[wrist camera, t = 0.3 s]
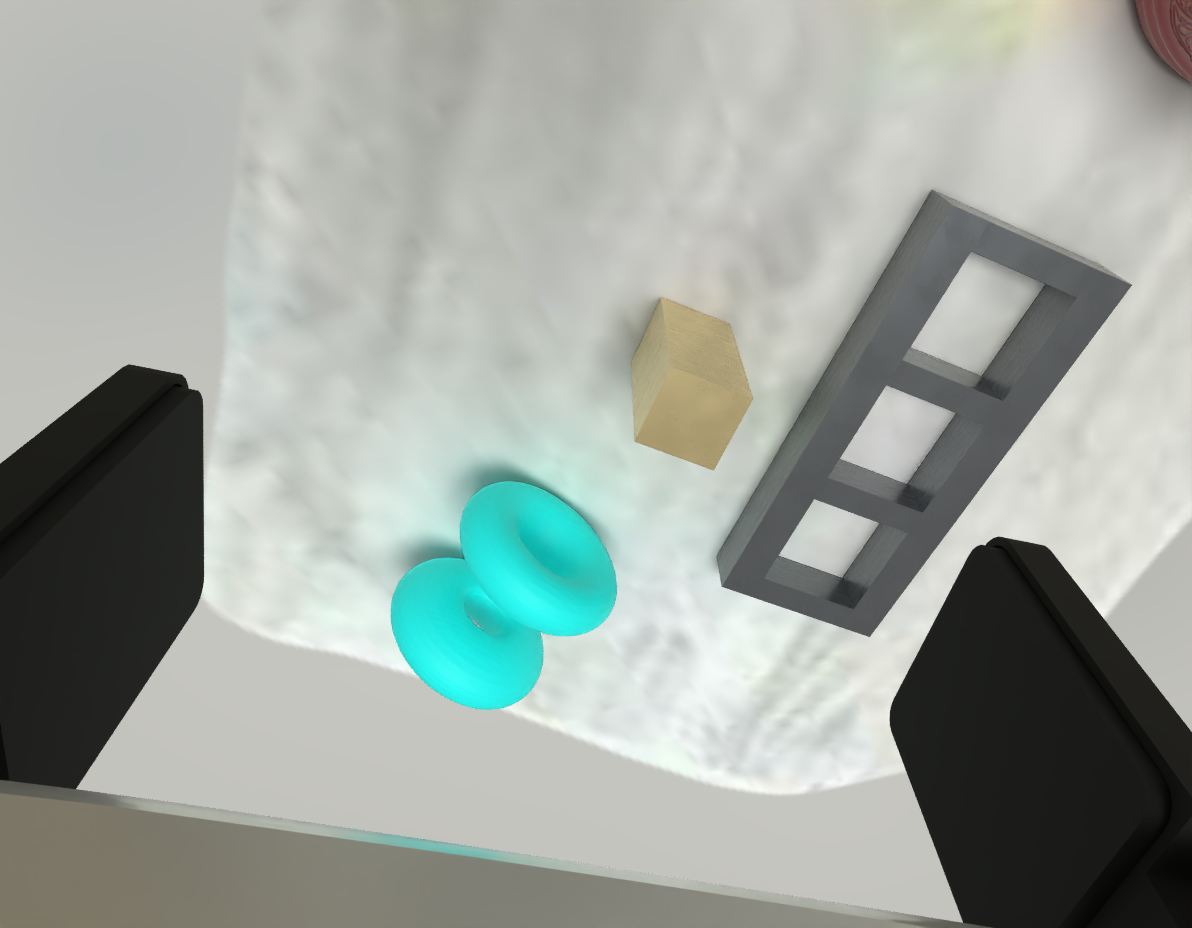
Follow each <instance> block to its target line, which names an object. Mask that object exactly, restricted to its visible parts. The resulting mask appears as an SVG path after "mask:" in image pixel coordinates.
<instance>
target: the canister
mask: <svg viewBox="0 0 1192 928" xmlns="http://www.w3.org/2000/svg"><path fill="white" fill-rule="evenodd" d="M1135 5H1136V10H1137V15H1138V18H1139V21H1140V24H1141V27H1142V29H1143V32H1144V34H1145V36H1146V38H1147V40H1148V41H1149V43H1150V45H1151V46H1152V48H1153V49H1154V51H1155V52H1156V53H1157V54H1158V56H1159V57H1160V58H1161V59H1162V60H1163V61H1164V62H1165V63H1166V64H1167V65H1168V66H1169V67H1171V68H1172V69H1173V70H1175V71H1176V72H1177V73H1178V74H1179V75H1181V76H1182V77H1183V78H1185V79H1186V80H1187V81H1189V82H1191V83H1192V0H1135Z"/></svg>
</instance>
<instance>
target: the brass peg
mask: <svg viewBox="0 0 1192 928" xmlns="http://www.w3.org/2000/svg"><path fill="white" fill-rule="evenodd" d="M631 363H632V389H633V416H634V441H635V442H637V443H640V444H643V445H645V446H648V447H651V448H654V449H656V450H659V451H662V452H665V453H667V454H670V455H673V456H676V457H678V458H681V459H684V460H687V461H689V462H692V463H695V464H698V465H700V466H703V467H706V468H709V469H711V470H714V469H715V467H716V465H717V464H718V462H719V460H720V458H721V456H722V454H723V453H724V451H725V449H726V447H727V445H728V444H729V442H730V440H731V438H732V436H733V434H734V433H735V431H736V429H737V427H738V425H739V424H740V422H741V420H742V418H743V416H744V414H745V413H746V411H747V409H748V407H749V405H750V404H751V402H752V400H753V396H752V393H751V390H750V387H749V383H748V380H747V377H746V374H745V371H744V367H743V364H742V361H741V358H740V354H739V351H738V348H737V345H736V342H735V338H734V335H733V332H732V329H731V326H730V324H728V323H726V322H723V321H721V320H718V319H716V318H713V317H710V316H708V315H705V314H703V313H700V312H698V311H695V310H693V309H690V308H688V307H685V306H683V305H680V304H678V303H675V302H673V301H670V300H668V299H665V298H663V297H661V299H660V301H659V303H658V305H657V308H656V310H655V312H654V314H653V316H652V318H651V321H650V323H649V325H648V327H647V329H646V332H645V334H644V336H643V338H642V340H641V342H640V345H639V347H638V349H637V351H636V353H635V356H634V358H633V360H632V362H631Z"/></svg>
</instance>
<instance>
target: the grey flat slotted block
mask: <svg viewBox="0 0 1192 928" xmlns="http://www.w3.org/2000/svg"><path fill="white" fill-rule="evenodd" d="M971 251H972V252H974V253H976V254H979V255H981V256H983V257H985V258H988V259H990V260H992V261H995V262H997V263H999V264H1001V265H1004V266H1006V267H1008V268H1011V269H1013V270H1015V271H1017V272H1020V273H1022V274H1024V275H1027V276H1029V277H1031V278H1034V279H1036V280H1038V281H1040V282H1043V283H1045V284H1046V285H1045V286H1044V288H1043V289H1042V291H1041V292H1040V294H1039V295H1038V296H1037V298H1036V299H1035V301H1034V302H1033V304H1032V305H1031V307H1030V308H1029V309H1028V311H1027V312H1026V314H1025V315H1024V317H1023V318H1022V320H1021V321H1020V322H1019V324H1018V325H1017V327H1016V328H1015V330H1014V331H1013V333H1012V334H1011V335H1010V337H1009V338H1008V340H1007V341H1006V343H1005V344H1004V346H1003V347H1002V348H1001V350H1000V351H999V353H998V354H997V356H996V357H995V359H994V360H993V361H992V363H991V364H990V366H989V367H988V369H987V370H986V372H985V373H984V374H983V376H982V377H981V376H979V375H977V374H974V373H972V372H969V371H967V370H964V369H962V368H959V367H957V366H955V365H952V364H950V363H947V362H945V361H942V360H940V359H937V358H935V357H933V356H930V355H928V354H925V353H923V352H920V351H918V350H916V349H913V348H911V345H912V344H913V342H914V340H915V339H916V337H917V336H918V334H919V333H920V331H921V329H922V328H923V326H924V325H925V323H926V322H927V320H928V318H929V317H930V315H931V314H932V312H933V310H934V309H935V307H936V306H937V304H938V303H939V301H940V299H941V298H942V296H943V295H944V293H945V292H946V290H947V288H948V287H949V285H950V284H951V282H952V280H953V279H954V277H955V276H956V274H957V273H958V271H959V269H960V268H961V266H962V265H963V263H964V262H965V260H966V258H967V257H968V255H969V254H970V252H971ZM1131 286H1132V285H1131V284H1130V283H1128V282H1127V281H1125V280H1123V279H1122V278H1120V277H1119V276H1117V275H1116V274H1114V273H1112V272H1111V271H1109V270H1108V269H1106V268H1105V267H1103V266H1101V265H1099V264H1097V263H1095V262H1092V261H1090V260H1088V259H1086V258H1083V257H1081V256H1079V255H1077V254H1074V253H1072V252H1070V251H1068V250H1065V249H1063V248H1061V247H1059V246H1057V245H1054V244H1052V243H1050V242H1048V241H1045V240H1043V239H1041V238H1039V237H1036V236H1034V235H1032V234H1030V233H1027V232H1025V231H1023V230H1021V229H1019V228H1016V227H1014V226H1012V225H1010V224H1007V223H1005V222H1003V221H1001V220H998V219H996V218H994V217H992V216H989V215H987V214H985V213H983V212H981V211H978V210H976V209H974V208H972V207H969V206H967V205H965V204H963V203H960V202H958V201H956V200H954V199H952V198H949V197H947V196H945V195H943V194H940V193H938V192H936V191H934V190H932V191H931V193H930V194H929V196H928V198H927V200H926V201H925V203H924V205H923V206H922V208H921V210H920V211H919V213H918V215H917V217H916V218H915V220H914V222H913V223H912V225H911V227H910V228H909V230H908V232H907V234H906V235H905V237H904V239H903V240H902V242H901V244H900V245H899V247H898V249H897V251H896V252H895V254H894V256H893V257H892V259H891V261H890V262H889V264H888V266H887V268H886V269H885V271H884V273H883V274H882V276H881V278H880V280H879V281H878V283H877V285H876V286H875V288H874V290H873V291H872V293H871V295H870V297H869V298H868V300H867V302H866V303H865V305H864V307H863V308H862V310H861V312H860V314H859V315H858V317H857V319H856V320H855V322H854V324H853V325H852V327H851V329H850V331H849V332H848V334H847V336H846V337H845V339H844V341H843V342H842V344H841V346H840V348H839V349H838V351H837V353H836V354H835V356H834V358H833V359H832V361H831V363H830V365H829V366H828V368H827V370H826V371H825V373H824V375H823V376H822V378H821V380H820V382H819V383H818V385H817V387H816V388H815V390H814V392H813V393H812V395H811V397H810V399H809V400H808V402H807V404H806V405H805V407H804V409H803V410H802V412H801V414H800V416H799V417H798V419H797V421H796V422H795V424H794V426H793V427H792V429H791V431H790V433H789V434H788V436H787V438H786V439H785V441H784V443H783V444H782V446H781V448H780V450H779V451H778V453H777V455H776V456H775V458H774V460H773V461H772V463H771V465H770V467H769V468H768V470H767V472H766V473H765V475H764V477H763V478H762V480H761V482H760V484H759V485H758V487H757V489H756V490H755V492H754V494H753V495H752V497H751V499H750V501H749V502H748V504H747V506H746V507H745V509H744V511H743V512H742V514H741V516H740V518H739V519H738V521H737V523H736V524H735V526H734V528H733V529H732V531H731V533H730V535H729V536H728V538H727V540H726V541H725V543H724V545H723V547H722V548H721V550H720V552H719V553H718V555H717V561H718V567H719V573H720V579H721V585H722V587H724V588H727V589H730V590H733V591H736V592H739V593H742V594H745V595H748V596H751V597H754V598H757V599H760V600H763V601H765V602H768V603H771V604H774V605H777V606H780V607H783V608H786V609H789V610H792V611H795V612H798V613H801V614H804V615H807V616H810V617H812V618H815V619H818V620H821V621H824V622H827V623H830V624H833V625H836V626H839V627H842V628H845V629H848V630H851V631H854V632H857V633H859V634H862V635H865V636H868V637H870V636H871V634H872V633H873V632H874V630H875V629H876V628H877V626H878V625H879V624H880V622H881V621H882V620H883V618H884V617H885V616H886V614H887V613H888V612H889V610H890V609H891V608H892V606H893V605H894V604H895V602H896V601H897V600H898V598H899V597H900V596H901V594H902V593H903V592H904V590H905V589H906V588H907V586H908V585H909V584H910V582H911V581H912V579H913V578H914V577H915V575H916V574H917V573H918V571H919V570H920V569H921V567H922V566H923V565H924V563H925V562H926V561H927V559H928V558H929V557H930V555H931V554H932V553H933V551H934V550H935V549H936V547H937V546H938V545H939V543H940V542H941V541H942V539H943V538H944V537H945V535H946V534H947V533H948V531H949V530H950V529H951V527H952V526H953V524H954V523H955V522H956V520H957V519H958V518H959V516H960V515H961V514H962V512H963V511H964V510H965V508H966V507H967V506H968V504H969V503H970V502H971V500H972V499H973V498H974V496H975V495H976V494H977V492H978V491H979V490H980V488H981V487H982V486H983V484H984V483H985V482H986V480H987V479H988V478H989V476H990V475H991V474H992V472H993V471H994V469H995V468H996V467H997V465H998V464H999V463H1000V461H1001V460H1002V459H1003V457H1004V456H1005V455H1006V453H1007V452H1008V451H1009V449H1010V448H1011V447H1012V445H1013V444H1014V443H1015V441H1016V440H1017V439H1018V437H1019V436H1020V435H1021V433H1022V432H1023V431H1024V429H1025V428H1026V427H1027V425H1028V424H1029V423H1030V421H1031V420H1032V419H1033V417H1034V416H1035V414H1036V413H1037V412H1038V410H1039V409H1040V408H1041V406H1042V405H1043V404H1044V402H1045V401H1046V400H1047V398H1048V397H1049V396H1050V394H1051V393H1052V392H1053V390H1054V389H1055V388H1056V386H1057V385H1058V384H1059V382H1060V381H1061V380H1062V378H1063V377H1064V376H1065V374H1066V373H1067V372H1068V370H1069V369H1070V368H1071V366H1072V365H1073V364H1074V362H1075V361H1076V359H1077V358H1078V357H1079V355H1080V354H1081V353H1082V351H1083V350H1084V349H1085V347H1086V346H1087V345H1088V343H1089V342H1090V341H1091V339H1092V338H1093V337H1094V335H1095V334H1096V333H1097V331H1098V330H1099V329H1100V327H1101V326H1102V325H1103V323H1104V322H1105V321H1106V319H1107V318H1108V317H1109V315H1110V314H1111V313H1112V311H1113V310H1114V309H1115V307H1116V306H1117V305H1118V303H1119V302H1120V300H1121V299H1122V298H1123V296H1124V295H1125V294H1126V292H1127V291H1128V290H1129V288H1130V287H1131ZM886 385H887V386H890V387H892V388H895V389H897V390H900V391H902V392H905V393H907V394H910V395H912V396H915V397H917V398H920V399H923V400H925V401H928V402H930V403H933V404H935V405H938V406H940V407H943V408H945V409H948V410H950V411H953V412H955V413H956V415H955V416H954V418H953V419H952V421H951V422H950V424H949V425H948V426H947V428H946V429H945V431H944V432H943V434H942V435H941V437H940V438H939V439H938V441H937V442H936V444H935V445H934V447H933V448H932V450H931V451H930V452H929V454H928V455H927V457H926V458H925V460H924V461H923V463H922V464H921V465H920V467H919V468H918V470H917V471H916V473H915V474H914V476H913V477H912V478H911V480H910V481H909V483H908V484H904V483H902V482H899V481H896V480H894V479H891V478H888V477H886V476H883V475H880V474H878V473H875V472H872V471H870V470H867V469H864V468H862V467H859V466H857V465H854V464H851V463H849V462H846V461H843V460H841V459H840V457H841V456H842V454H843V453H844V451H845V449H846V448H847V446H848V445H849V443H850V442H851V440H852V438H853V437H854V435H855V434H856V432H857V431H858V429H859V427H860V426H861V424H862V423H863V421H864V419H865V418H866V416H867V415H868V413H869V412H870V410H871V408H872V407H873V405H874V404H875V402H876V400H877V399H878V397H879V396H880V394H881V393H882V391H883V389H884V388H885V386H886ZM814 499H816V500H818V501H821V502H824V503H827V504H829V505H832V506H835V507H838V508H840V509H843V510H846V511H848V512H851V513H854V514H857V515H859V516H862V517H865V518H868V519H870V520H873V521H876V522H878V523H880V525H879V526H878V528H877V529H876V530H875V532H874V533H873V535H872V536H871V538H870V539H869V541H868V542H867V543H866V545H865V546H864V548H863V549H862V551H861V552H860V554H859V555H858V556H857V558H856V559H855V561H854V562H853V564H852V565H851V567H850V568H849V569H848V571H847V572H846V574H845V575H844V577H843V578H840V577H837V576H834V575H831V574H828V573H826V572H823V571H820V570H817V569H814V568H811V567H808V566H806V565H803V564H800V563H797V562H794V561H791V560H789V559H786V558H783V557H780V556H778V555H779V554H780V552H781V551H782V549H783V547H784V546H785V544H786V543H787V541H788V539H789V538H790V536H791V535H792V533H793V532H794V530H795V528H796V527H797V525H798V524H799V522H800V521H801V519H802V517H803V516H804V514H805V513H806V511H807V509H808V508H809V506H810V505H811V503H812V502H813V500H814Z"/></svg>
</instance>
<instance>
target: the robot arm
mask: <svg viewBox="0 0 1192 928" xmlns="http://www.w3.org/2000/svg"><path fill="white" fill-rule="evenodd" d="M203 583H204V482H203V399H202V396H201V394H200V392H199V391H197V390H192V389H189V388H188V384H187V381H186V379H185V378H184V377H183V375H181V374H176V373H170V372H165V371H160V370H155V369H150V368H145V367H140V366H135V365H127V366H125V367H123V368H121V369H120V370H119V371H117V372H116V373H115V374H114V375H112V376H111V377H110V378H109V379H107V380H106V381H105V382H103V383H102V384H101V385H100V386H99V387H97V388H96V389H95V390H93V391H92V392H91V393H89V394H88V395H87V396H86V397H84V398H83V399H82V400H81V401H79V402H78V403H77V404H76V405H74V406H73V407H72V408H71V409H69V410H68V411H67V412H65V413H64V414H63V415H62V416H60V417H59V418H58V419H57V420H55V421H54V422H53V423H52V424H50V425H49V426H48V427H46V428H45V429H44V430H43V431H41V432H40V433H39V434H37V435H36V436H35V437H34V438H32V439H31V440H30V441H29V442H27V443H26V444H25V445H23V447H21V448H20V449H18V450H17V451H16V452H15V453H13V454H12V455H11V456H10V457H8V458H7V459H6V460H4V461H3V462H2V463H1V464H0V928H1192V732H1191V731H1190V729H1189V728H1188V727H1187V725H1186V724H1185V723H1184V722H1183V720H1182V719H1181V718H1180V716H1179V715H1178V714H1177V713H1176V711H1175V710H1174V709H1173V707H1172V706H1171V705H1170V704H1169V702H1168V701H1167V700H1166V699H1165V697H1164V696H1163V695H1162V693H1161V692H1160V691H1159V689H1158V688H1157V687H1156V686H1155V684H1154V683H1153V682H1152V680H1151V679H1150V678H1149V676H1148V675H1147V674H1146V673H1145V671H1144V670H1143V669H1142V667H1141V666H1140V665H1139V664H1138V662H1137V661H1136V660H1135V658H1134V657H1133V656H1132V655H1131V653H1130V652H1129V651H1128V650H1127V648H1126V647H1125V646H1124V644H1123V643H1122V642H1121V640H1120V639H1119V638H1118V637H1117V635H1116V634H1115V633H1114V631H1113V630H1112V629H1111V628H1110V626H1109V625H1108V624H1107V622H1106V621H1105V620H1104V619H1103V617H1102V616H1101V615H1100V613H1099V612H1098V611H1097V609H1096V608H1095V607H1094V606H1093V604H1092V603H1091V602H1090V600H1089V599H1088V598H1087V597H1086V595H1085V594H1084V593H1083V591H1082V590H1081V589H1080V588H1079V586H1078V585H1077V584H1076V582H1075V581H1074V580H1073V579H1072V577H1071V576H1070V575H1069V573H1068V572H1067V571H1066V570H1065V568H1064V567H1063V566H1062V564H1061V563H1060V562H1059V561H1058V559H1057V558H1056V557H1055V555H1054V554H1053V553H1052V552H1051V550H1049V549H1048V548H1047V547H1046V546H1043V545H1039V544H1034V543H1029V542H1024V541H1019V540H1014V539H1009V538H1004V537H996V538H993V539H991V540H990V541H989V542H988V543H987V544H986V545H979V546H977V547H975V548H974V549H973V550H972V552H971V553H970V555H969V556H968V558H967V560H966V562H965V564H964V566H963V568H962V570H961V572H960V573H959V575H958V577H957V579H956V581H955V583H954V585H953V587H952V589H951V591H950V593H949V594H948V596H947V598H946V600H945V602H944V604H943V606H942V608H941V610H940V612H939V614H938V616H937V617H936V619H935V621H934V623H933V625H932V627H931V629H930V631H929V633H928V635H927V637H926V638H925V640H924V642H923V644H922V646H921V648H920V650H919V652H918V654H917V656H916V658H915V660H914V661H913V663H912V665H911V667H910V669H909V671H908V673H907V675H906V677H905V679H904V681H903V682H902V684H901V686H900V688H899V690H898V692H897V694H896V696H895V698H894V700H893V702H892V705H891V710H890V727H891V731H892V734H893V737H894V740H895V742H896V745H897V748H898V750H899V753H900V756H901V758H902V761H903V764H904V766H905V769H906V772H907V774H908V777H909V779H910V782H911V785H912V788H913V790H914V793H915V796H916V798H917V801H918V804H919V806H920V809H921V812H922V814H923V816H924V820H925V822H926V825H927V828H928V830H929V833H930V835H931V838H932V840H933V843H934V846H935V849H936V851H937V854H938V857H939V859H940V862H941V865H942V867H943V870H944V872H945V875H946V878H947V881H948V883H949V886H950V888H951V891H952V894H953V897H954V899H955V902H956V904H957V907H958V910H959V913H960V915H961V918H962V921H963V923H960V922H954V921H947V920H941V919H935V918H929V917H923V916H916V915H909V914H904V913H898V912H891V911H885V910H879V909H873V908H865V907H860V906H853V905H848V904H841V903H835V902H828V901H823V900H816V899H810V898H803V897H797V896H791V895H784V894H778V893H771V892H765V891H759V890H752V889H746V888H739V887H733V886H726V885H720V884H713V883H707V882H700V881H694V880H688V879H681V878H675V877H668V876H662V875H655V874H649V873H642V872H635V871H629V870H623V869H616V868H610V867H603V866H596V865H590V864H584V863H577V862H570V861H563V860H557V859H551V858H544V857H538V856H531V855H525V854H518V853H511V852H505V851H499V850H492V849H485V848H478V847H472V846H465V845H458V844H452V843H445V842H438V841H431V840H425V839H418V838H411V837H405V836H398V835H391V834H384V833H377V832H370V831H364V830H357V829H351V828H343V827H337V826H330V825H324V824H316V823H310V822H303V821H297V820H289V819H283V818H276V817H270V816H263V815H256V814H249V813H242V812H236V811H229V810H222V809H216V808H209V807H202V806H195V805H187V804H180V803H173V802H165V801H158V800H151V799H143V798H136V797H129V796H121V795H114V794H106V793H99V792H92V791H84V790H77V789H76V788H77V786H78V785H79V783H80V782H81V780H82V779H83V777H84V776H85V774H86V773H87V771H88V770H89V768H90V767H91V765H92V764H93V762H94V761H95V759H96V758H97V756H98V755H99V753H100V752H101V750H102V749H103V747H104V746H105V744H106V743H107V741H108V740H109V738H110V737H111V735H112V734H113V732H114V730H115V729H116V728H117V726H118V725H119V723H120V721H121V720H122V719H123V717H124V716H125V714H126V713H127V711H128V709H129V708H130V707H131V705H132V704H133V702H134V701H135V699H136V698H137V696H138V694H139V693H140V692H141V690H142V689H143V687H144V685H145V684H146V682H147V681H148V679H149V678H150V676H151V675H152V673H153V672H154V670H155V669H156V667H157V666H158V664H159V663H160V661H161V660H162V658H163V657H164V655H165V654H166V652H167V651H168V649H169V648H170V646H171V645H172V643H173V642H174V640H175V639H176V637H177V636H178V634H179V633H180V631H181V630H182V628H183V627H184V625H185V624H186V622H187V621H188V619H189V618H190V616H191V615H192V613H193V612H194V610H195V608H196V606H197V604H198V602H199V599H200V596H201V593H202V589H203Z"/></svg>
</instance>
